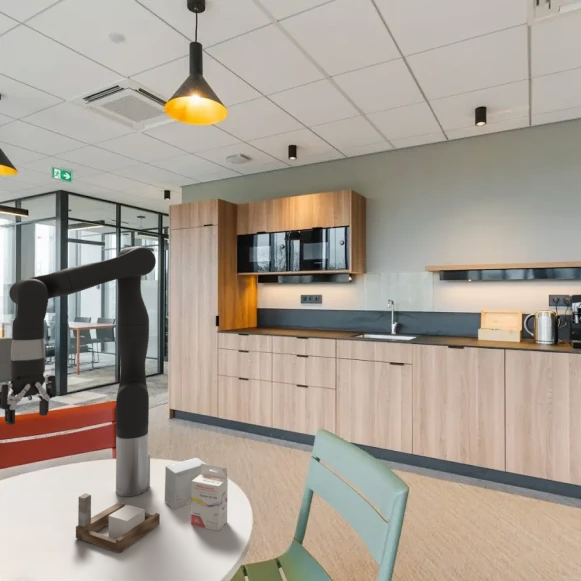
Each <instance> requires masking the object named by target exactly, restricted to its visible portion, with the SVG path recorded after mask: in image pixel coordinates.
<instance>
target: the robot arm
mask: <svg viewBox="0 0 581 581" xmlns="http://www.w3.org/2000/svg"><path fill="white" fill-rule="evenodd" d="M156 262H157V259H156V256H155V254H154V252H153V251H152V250H151V249H150V248H147V247H145V246H140V245H138V246H137V245H136V246H131V247H130V246H129V247H125V248H123V249H121V250H120V251H119V252H118V253H117V256H116V257H112V258H109V259H105V260H100V261H95V262H90V263H85V264H84V263H83V264H80V265H75V266H70V267H68V268H64V269H60V270H57V271H55V272H54V271H53V272H51V273H48V274H42V275H38V276H34V277H33V276H32V277H28V278H24V279H20V280H18V281H16V282H14V283H13V284H12V285H11V287H10V289H9V298H10V300H11V301H12V302H13V303H14V304H15V305H16V306H17V312H16V317H15V318H14V319H13V321H12V326H11V328H12V330H11V331H12V333H11V336H12V337H11V340H12V341H11V345H10V377H11V380H10V383H9V382H8V383H1V382H0V409H1V410H4V422H5V423H6V425H9V426H12V425H15V424H16V409H15V407H16V406H17V404H18V403H20V402H21V401H22V399H23V398H28V397H30V396H37V398H38V399H39V402H38V403H39V406H38V408H39V410H38V414H39V416H42V417H45V416H47V415H48V413H49V411H50V410H49V406H50V400H51V399H52V398H55V397H57V385H56V384H57V383H56V375H53V374H46V375H45V372H46V344H45V343H46V342H45V319H46V315H47V309H48V306H49V305H48V304H49V299H50V300H51V299H52V298H53V299H54V298H58V297H66V296H70V295H72V294H75V293H78V292H81V291H85V290H87V289H91V288H94V287H96V286H100V285H102V284H105V283H108V282H112V281H115V280H117V287H118V298H117V299H118V300H117V301H118V303H117V304H118V306H117V309H118V311H117V317H118V318H117V346H118V353H119V358H120V374H119V375H120V377H119V384H118V389H117V392H116V400H115V402H116V404H115V406H116V407H115V409H116V410H115V411H116V412H115V420H116V421H115V424H116V425H115V427H116V428H115V429H116V435H115V436H116V437H115V441H116V442H115V447H116V448H115V450H116V451H115V452H116V454H115V455H116V456H115V468H116V469H115V493H116V495H117V496H120V497H133V496H138V495H140V494H143V493H144V492H146V491H147V490H148V487H149V486H150V485H151V456H150V454H149V423H150V422H149V421H150V420H149V419H150V418H149V414H150V413H149V412H150V411H149V410H150V408H149V407H150V400H149V399H150V396H149V390H148V385H147V375H146V374H147V373H146V360H147V354H148V347H149V339H150V318H149V313H148V310H147V307H146V305H145V301H144V299H143V295H142V287H141V286H142V277H143V276H146V275H149V274H150V273H152V271H153V270H154V268H155V266H156ZM44 375H45V376H44ZM44 384H45V388H44V387H43V385H44ZM10 391H11V392H10ZM9 392H10V394H9Z"/></svg>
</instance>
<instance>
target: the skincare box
mask: <svg viewBox="0 0 581 581" xmlns="http://www.w3.org/2000/svg"><path fill="white" fill-rule="evenodd" d="M202 463H203V464H207V463H206V462H205V461H203V460H201V459H200V458H198V457H193V458H190V459H186V460H182V461H179V462H176V463H172V464H168V465H165V472H164V473H165V476H164V478H165V479H164V480H165V482H164V502H165V503H166V504H167V505H168V506H170V507H171V508H172V509H175V510H176V509H178V508H181V507H184V506H186V505H191V491H192V480H194V479H195V478H196V477H198V476H199V475H200V474H201V464H202Z"/></svg>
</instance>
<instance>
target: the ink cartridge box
mask: <svg viewBox="0 0 581 581" xmlns="http://www.w3.org/2000/svg"><path fill="white" fill-rule="evenodd" d="M213 469H214V470H215V471H212V470H213ZM228 481H229V480H228V469H227V467H226V466H225V467H224V466H220V465H213V464H209V463H206V464H203V463H202V464H201V474H200V475H199V476H198V477H196V478H195V479H194V480H192V491H191V503H190V525H191V526H195V527H198V528H205V529H209V530H212V531H216V530H218V531H217V532H220V530H221V529H222V528H223V527H224V526H225V525H226V524H227V523H228V486H229V485H228V484H229V483H228ZM224 524H225V525H224ZM223 525H224V526H223Z"/></svg>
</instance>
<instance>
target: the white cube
mask: <svg viewBox="0 0 581 581" xmlns="http://www.w3.org/2000/svg"><path fill="white" fill-rule="evenodd" d="M145 513H146V512H145V509H144V508H140V507H137V506H133V505H130V504H126V505H125V506H124V507H122V508H121V509H119V510H117V511H116V512H114V513H112V514H110V515H109V524H108V533H107V534H108V535H107V536H108V537H111V538H114V539H118V538H119V537H121V536H122V535H124V534H125V533H127V532H128V531H130V530H131V529H133V528H134V527H136V526H137V525H139V524H140V523H142V522H143V521H145Z"/></svg>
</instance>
